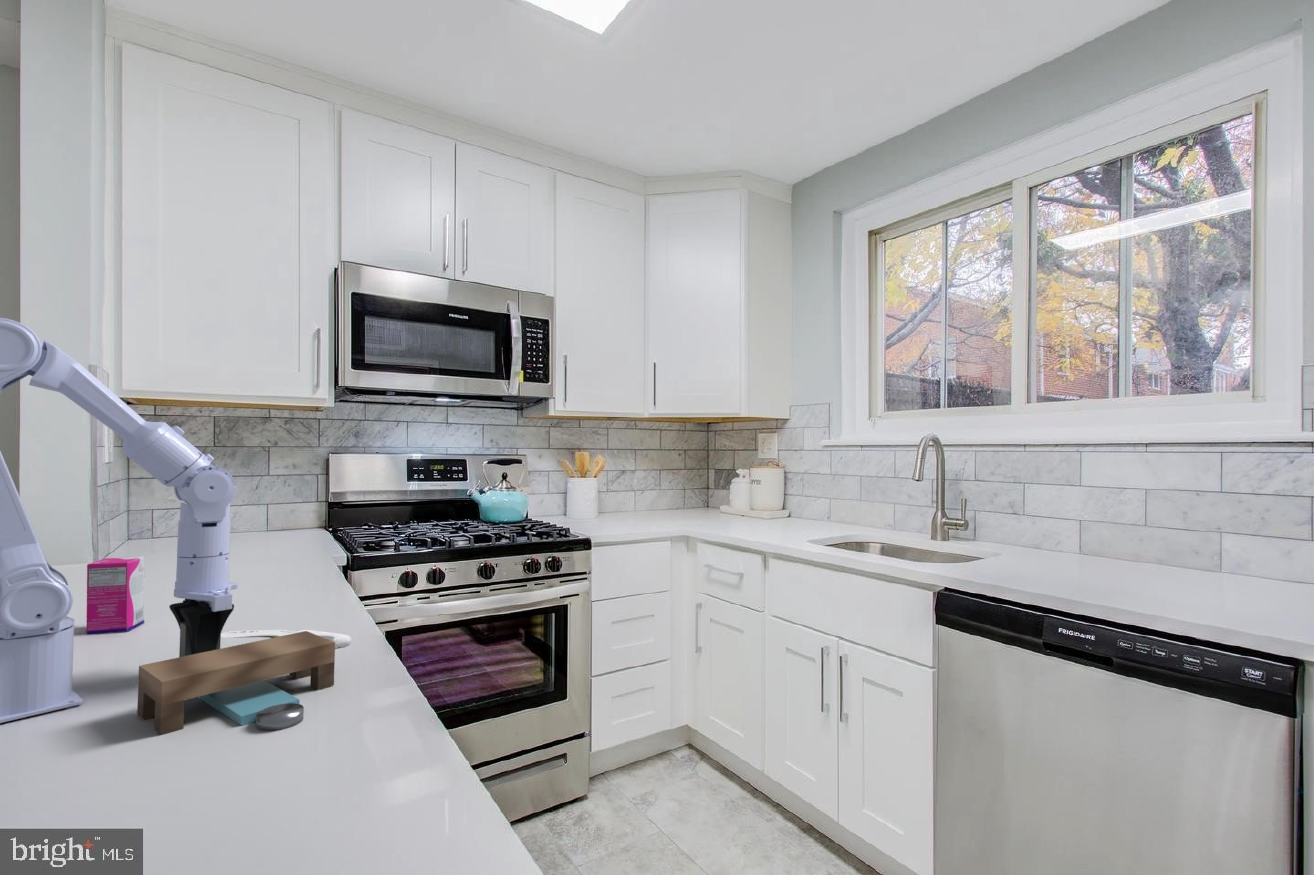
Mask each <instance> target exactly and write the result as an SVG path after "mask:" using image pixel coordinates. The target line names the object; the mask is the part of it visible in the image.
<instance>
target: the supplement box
mask: <svg viewBox="0 0 1314 875" xmlns="http://www.w3.org/2000/svg"><path fill="white" fill-rule="evenodd" d="M145 559H146V557H145V556H142V555H141V556H129V557H127V556H126V557H107V558H102V559H100V560H97V561H94V562H90V563H87V564H86V629H85V630H86V631H85V632H86V633H85V634H87V635H94V634H95V635H97V634H99V635H100V634H110V633H112V634H113V633H115V634H116V633H128V632H130V631H132V630H134V629H135V628H137V627H139V626H141V625H143V624H144V623H145Z"/></svg>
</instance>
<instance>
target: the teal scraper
mask: <svg viewBox="0 0 1314 875" xmlns="http://www.w3.org/2000/svg"><path fill="white" fill-rule="evenodd" d="M179 631H180V632H179V652H178V653H179V654H178V655H179V656H178V658H179V657H183V656H188V655H192V651H191V643H190V635H189V631H188V627H187V624H186V622H182V623H180V628H179ZM221 634H222V633H221ZM221 634H220V638H219V641H218V645H217V648H216V650H217V649H221V642H222V641H221ZM198 698H199V699H200V700H202V701H203V702H205V703H206V704H208V705H210V707H212V708H214V709H215V710H217V711H218V712H220V713H221V714H223V715H224V716H226V717H228V718H229V719H231V720H232V721H233V722H235V723H237V724H238V725H240V726H244V725H248V724H251V723H254V722H255V723H256V715H257V713H258V712H260V711H261V710H263V709H265V708H268V707H271V706H275V705H279V704H288V703H295V704H300V702H301V701H300V699H299V698H298V697H296V696H294V695H292V694H291V693H288V692H286V691H285V690H282V689H280V688H279V687H276V686H275V685H274V684H272V683H269V682H267V681H265V680H261V681H258V682H254V683H250V684H246V685H242V686H238V687H234V688H230V689H226V690H222V691H218V692H214V693H211V694H207V695H203V696H199V697H198Z"/></svg>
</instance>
